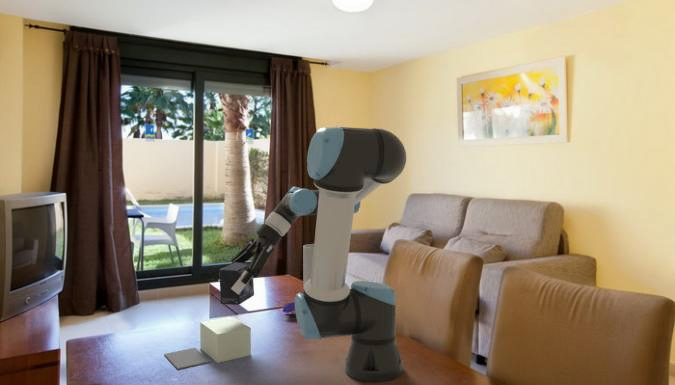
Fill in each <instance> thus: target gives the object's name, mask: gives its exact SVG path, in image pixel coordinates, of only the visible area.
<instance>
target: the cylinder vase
mask: <svg viewBox="0 0 675 385" xmlns="http://www.w3.org/2000/svg"><path fill="white" fill-rule="evenodd" d="M302 248H303V249H302V251H303V253H302V254H303V255H302V256H303V257H302V259H303V261H302V262H303V264H302V269H303V270H302V271H303V276H302V277H303V280H302V282H303V287H302V288H303V291H304V284H305V283H306V282H307V281H308V280H309V279H311V272H312V262H313V252H314V243H311V244H304V245H303V247H302Z"/></svg>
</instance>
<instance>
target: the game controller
mask: <svg viewBox="0 0 675 385" xmlns="http://www.w3.org/2000/svg"><path fill="white" fill-rule="evenodd" d="M282 301H283V299H281V300H280V301H279V303H278V304H277V306H279V304H280V302H282ZM285 301H286V302H287V300H285V299H284V302H285ZM293 311H295V300H293V301H290V302H287V303H285V304H284V307H283V308H282V312H283V313H287V314H288V313H290V314H288V316H290V315H291V314H292V317H293V318H294V319H295V320H296V321H297V318H296V316H295V315H296V312H295V313H294V312H293ZM291 312H292V313H291ZM287 314H284V316H285V317H286V316H287ZM294 314H295V315H294Z"/></svg>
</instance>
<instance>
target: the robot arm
mask: <svg viewBox="0 0 675 385" xmlns="http://www.w3.org/2000/svg"><path fill="white" fill-rule="evenodd" d="M306 163H307V166H306V168H307V173H308V176H309V177H310V178H311V179H313V185H314V186H315V188H317V189H309V188H301V187H299V186H298V187H297V186H292V187H291V188H290V190H288V191H287V192H286V194H284V195H285V196H283V198H282V199H281V200H280V201H279V203H278V204H277V206H276V207H275V208H274V209H273V210H272V211H271V213H269V215H268V217H267V218H266V219H265V220H264V223H262V224H261V225H260V227H259V228H258V229H257V230H256V235H257V236H258V237H257V238H256V239H254V238H251V239H250V240H249V241H248V242H247V243H246V245H244V247H242V249H240V251H238V252H237V253H236V254H235V256H233V257H232V258H231V259H230V262H231V264H233V263H235V262H242V263H247V261H249V260H250V259H251V258H252V259H251V261H250V262H249V263H250V265H249V268H246V269H245V270H246V271H244V273H243V274H242V275H241V277H240V278H239V279H238V280H237V282H236V283H235V284H234V286H233V287H232V288H231V289H232V290H233V291H234V292H236V293H237V294H238V295H239V293H240V292H241V291H242V290H243V288H244V287H245V286H246V284H247V283H248V282H249V281H250V279H251V278H252V277H253V278H254V277H255V276H259V275H260V274H261V272H262V270H263V269H264V267H265V265H266V263H267V261H268V259H269V258H270V255H271V254H272V253H273V251H274V249H275V247H276V246H278V244H279V243H280V242H281V240H282V237H284V236H285V235H286V233H288V232H289V230H290V228H291V227H292V226H293V224H294V223H295V222H296V221H297V219H299V217H301V216H316V224H315V234H314V235H315V236H314V242H313V244H314V252H313V262H312V272H311V279H309V280H308V281H307V282H306V283H305V284H304V290H303V291H302V292H298V293H297V294H295V296H294V301H295V313H296V314H295V319H297V320H296V321H297V326H298V328H299V332H300V333H301V336H302V337H304V339H306V340H318V339H319V340H323V339H328V338H337V337H344V336H351V343H350V345H349V349H348V351H347V352H348V353H347V356H346V358H345V362H344V371H345V373H346V374H347V375H348V376H349V377H350V378H353V379H356V380H359V381H365V382H375V383H376V382H385V381H387V382H388V381H391V380H394V379H396V378H398V377H400V376H401V375H402V373H403V361H402V359H401V355H400V351H399V348H398V346H397V343H396V332H397V331H396V329H397V328H396V326H397V325H396V324H397V322H396V316H397V314H396V313H397V312H396V311H397V310H396V308H397V301H396V292H395V290H394V288H393V287H391V286H390V285H387V284H385V283H382V282H381V283H380V282H376V281H375V282H374V281H367V280H366V281H365V280H362V281H361V280H357V281H352V282H351V285H350V286H349V285H348V283H347V282H346V277H347V269H348V263H349V262H348V260H349V254H350V246H351V236H352V230H353V223H354V221H353V220H354V214H356V213H358V212H359V210H360V208H361V202H362V201H363V200H364V199H365V198H366V197H368V196H369V195H370V194H371V193H372V192H374V191H375V190H376V189H377V188H379V187H380V186H382V185H386V184H389V183H391V182H393V181H394V180H396V179H397V178H398V177H399V176H400V175H401V174H402V173H403V171H404V169H405V167H406V164H407V151H406V148H405V146H404V144H403V142H402V141H401V140H400V138H399V137H398V136H397V135H395V133H393V132H392V131H389V130H387V129H382V128H377V127H376V128H367V127H365V128H364V127H349V126H347V127H344V126H334V127H333V126H332V127H331V126H330V127H322V128H319V129H318V130H317V131H316V132H315V133H314V134H313V136H312V138H311V140H310V142H309V146H308V150H307V157H306ZM247 271H248V272H247ZM218 282H219V283H220V278H219V279H218Z"/></svg>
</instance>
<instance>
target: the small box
mask: <svg viewBox="0 0 675 385" xmlns="http://www.w3.org/2000/svg"><path fill="white" fill-rule="evenodd" d="M250 263H251V262H245V263H242V262H235V263H233V264H232V263H231V264H229V265H226V266H224V267H222V268H219V271H218V274H219V279H220V282H219V292H220V295H219V296H220V305H233V306H239V305H241V304H242V303H245V302H246V301H247V300H249V299H250V298H252V297H254V296H255V288H254V276H253V277H252V278H251V279H250V281H249V282H248V283H247V284H246V286H245V287H244V288H243V290H242V291H241V292H240V293H239V295H238V294H237V293H236V292H234V291H233V290H232V289H231V288H232V287H233V286H234V284H235V283H236V282H237V280H238V279H239V278H240V277H241V275H242V274H243V273H244V271H246V270H245V269H246V268H249V265H250ZM247 272H248V271H247Z"/></svg>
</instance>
